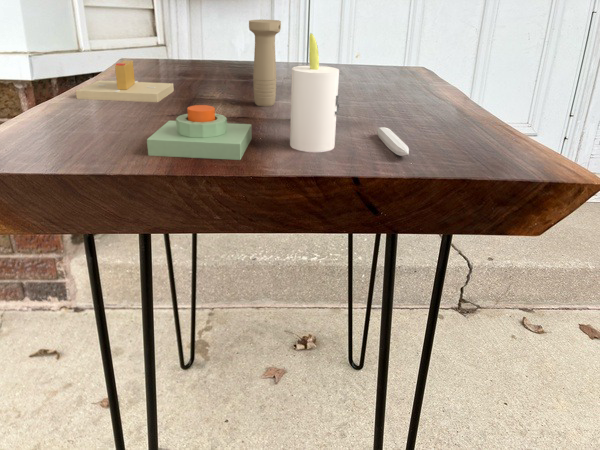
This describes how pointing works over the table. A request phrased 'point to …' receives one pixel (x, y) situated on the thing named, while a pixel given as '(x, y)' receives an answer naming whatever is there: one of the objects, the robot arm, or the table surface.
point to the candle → (314, 104)
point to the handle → (264, 60)
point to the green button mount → (200, 139)
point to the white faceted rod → (393, 141)
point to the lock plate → (125, 91)
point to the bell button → (201, 113)
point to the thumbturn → (125, 75)
